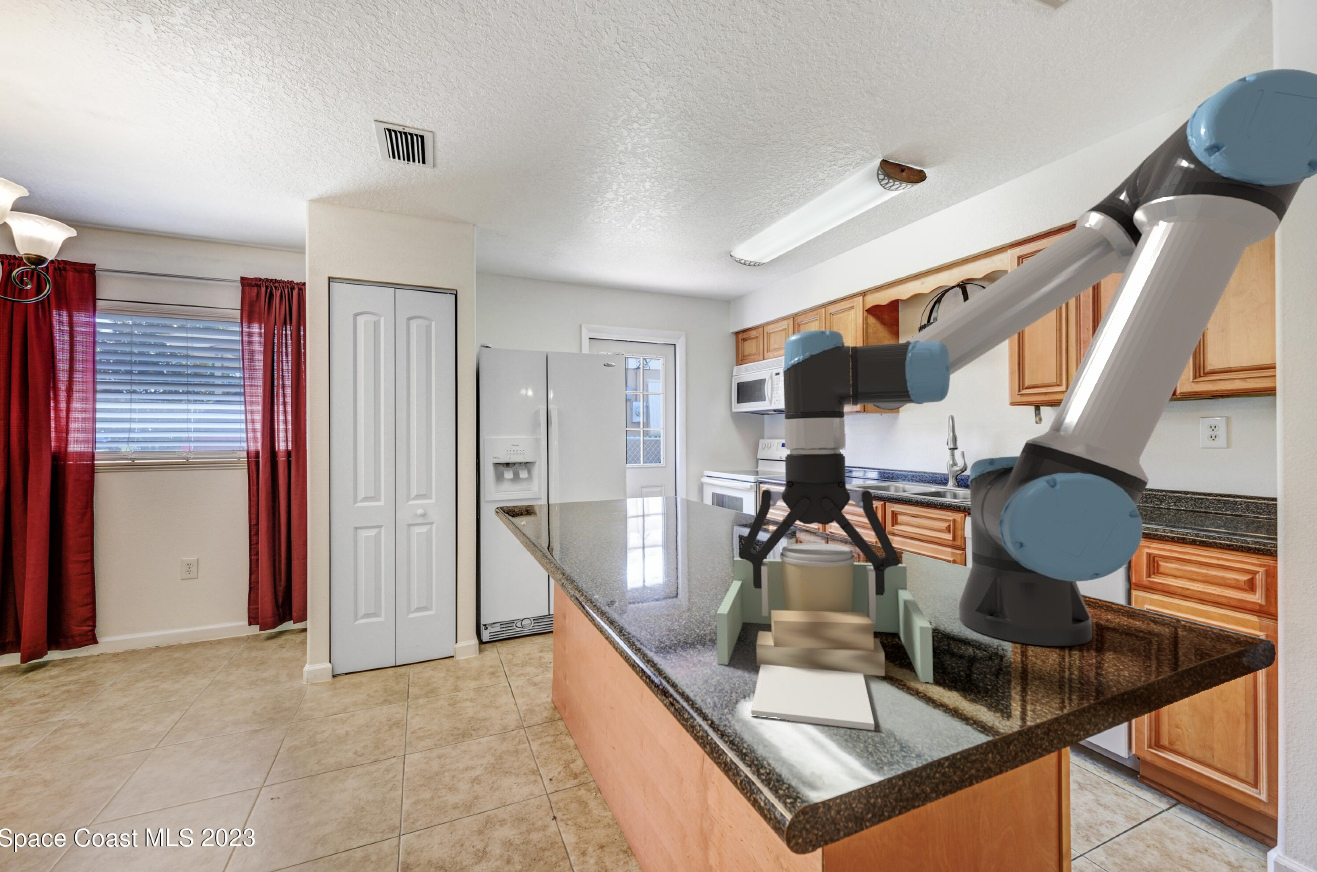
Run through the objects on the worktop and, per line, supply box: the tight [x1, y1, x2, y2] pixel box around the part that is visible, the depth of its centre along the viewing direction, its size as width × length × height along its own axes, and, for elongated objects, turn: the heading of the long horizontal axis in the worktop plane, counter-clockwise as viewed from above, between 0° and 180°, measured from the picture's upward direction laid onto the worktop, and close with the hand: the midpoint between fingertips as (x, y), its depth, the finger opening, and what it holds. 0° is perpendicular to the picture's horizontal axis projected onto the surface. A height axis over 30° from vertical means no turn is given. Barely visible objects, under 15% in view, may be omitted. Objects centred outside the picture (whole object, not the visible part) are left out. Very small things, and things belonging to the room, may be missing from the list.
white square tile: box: [750, 664, 875, 731], centre depth 56 cm, size 11×11×1 cm
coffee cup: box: [779, 542, 856, 612], centre depth 72 cm, size 9×9×12 cm
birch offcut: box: [755, 630, 886, 677], centre depth 65 cm, size 14×4×3 cm, turn 76°
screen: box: [716, 557, 934, 684], centre depth 70 cm, size 23×17×9 cm
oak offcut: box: [770, 610, 875, 650], centre depth 65 cm, size 11×4×3 cm, turn 83°
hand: (817, 616), depth 72 cm, fingers open, 12 cm apart
